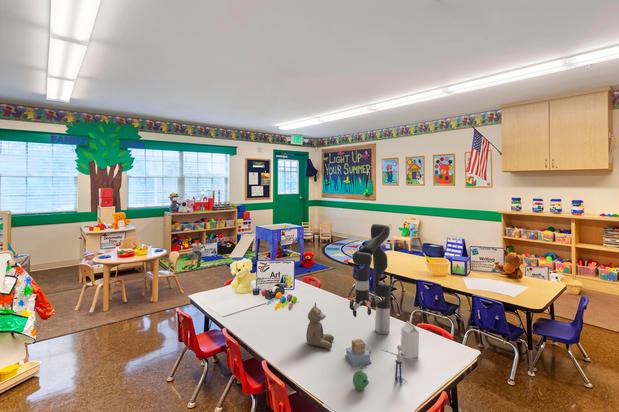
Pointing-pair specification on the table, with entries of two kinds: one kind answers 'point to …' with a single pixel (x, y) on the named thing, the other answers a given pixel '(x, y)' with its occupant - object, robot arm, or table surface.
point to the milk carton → (409, 341)
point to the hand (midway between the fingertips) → (361, 315)
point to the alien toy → (360, 379)
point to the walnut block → (358, 346)
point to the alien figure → (399, 364)
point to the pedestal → (357, 357)
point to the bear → (317, 330)
